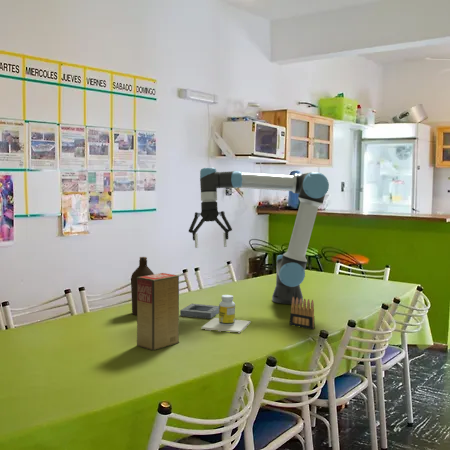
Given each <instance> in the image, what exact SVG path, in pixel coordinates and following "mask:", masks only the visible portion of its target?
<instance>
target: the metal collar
mask: <svg viewBox="0 0 450 450" xmlns="http://www.w3.org/2000/svg"><path fill="white" fill-rule="evenodd" d="M179 310H180V311H179V313H180V314H179V317H189V318H196V319H206V318H207V319H209V320H212V319H213V318H215V316H217V315H219V305H212V304H211V305H210V304H201V303H200V304H199V303H191V304H189V305H187V306H185V307H184V308H182V309H179ZM216 314H217V315H216ZM212 317H213V318H212Z"/></svg>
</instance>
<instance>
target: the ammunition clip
mask: <svg viewBox="0 0 450 450" xmlns="http://www.w3.org/2000/svg"><path fill="white" fill-rule="evenodd" d="M314 304H315V303H314V299H311V302H310V299H309V298H308V299H307V300H306V298H303V302H302V298H300V302H299V304H298V297H297V298H296V304H295V300H294V297H293V298H292V304H290V305H291V306H290V313H289V315H290V316H289V326H292V325H295V326H294V327H297V326H300V327H299V328H302V327H303V329H308V330H315V327H316V326H315V308H314V307H315V305H314Z"/></svg>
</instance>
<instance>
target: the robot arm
mask: <svg viewBox="0 0 450 450" xmlns="http://www.w3.org/2000/svg"><path fill="white" fill-rule="evenodd" d="M199 173H200V174H199V177H200V178H199V182H200V184H199V185H200V201H201V203H200V207H201V208H200V210H201V211H200V212H197V211H196V212H194V218H193V219H192V222H191V224H190V227H189V228H188V233H191V234H192V240H193V241H194V248H195V249H198V248H199V238H198V237H199V235H198V233H197V232H198V231H199V229H200V228H201V227H202V226H203V225H204V223H205V222H215V223H216V224H217V225H218V226H219V227H220V228H221V229H222V230H223V231H224V232H222V233H223V234H222V235H223V247H224V248H225V247H227V240H229V233H230V232H232V231H233V228H232V226H231V224H230V223H229V220H228V219H227V217H226V214H225V211H224V210H222V211H218V202H217V201H218V189H227V188H228V189H250V190H251V189H256V190H267V191H268V190H270V191H271V190H272V191H284V192H285V191H287V192H292V193H293V194H298V197H297V199H298V200H299V202H300V203H299V206H298V210H297V213H296V217H295V220H294V226H293V229H292V232H291V236H290V240H289V244H288V247H287V251H286V252H284V253H283V254H279V255H277V256H276V262H275V263H276V277H275V278H276V282H275V288H274V290H273V293H272V298H271V300H272V302H273V303H277V304H281V305H292V298H293V297H294V300H295V304H296V298H297V297H298V304H299V302H300V298H302V303H303V302H304V295H303V292H302V289H301V284H302V283H303V282H304V280H305V277H306V267H307V263H308V260H307V257H306V256H307V255H306V253H307V251H308V246H309V244H310V239H311V236H312V232H313V228H314V225H315V223H316V222H315V221H316V218H317V214H318V210H319V207H321V206H322V205H323V204H324V201H325V196H326V194H327V193H328V191H329V189H330V188H329V186H330V185H329V184H330V183H329V180H328V178H327V177H326V176H325V175H324V174H323V173H321V172H319V171H312V172H305V173H294V174H292V175H291V174H272V173H259V172H258V173H257V172H256V173H255V172H241V171H240V170H239V171H236V170H233V171H217V169H216V168H215V167H204V168H201V169H200V170H199ZM199 217H201V220H200V221H199V222H198V220H199ZM218 217H221V218H222V220H223V222H224V223H222V222H221V220H220V219H219V218H218ZM197 222H198V224H197ZM224 224H225V225H224Z"/></svg>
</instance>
